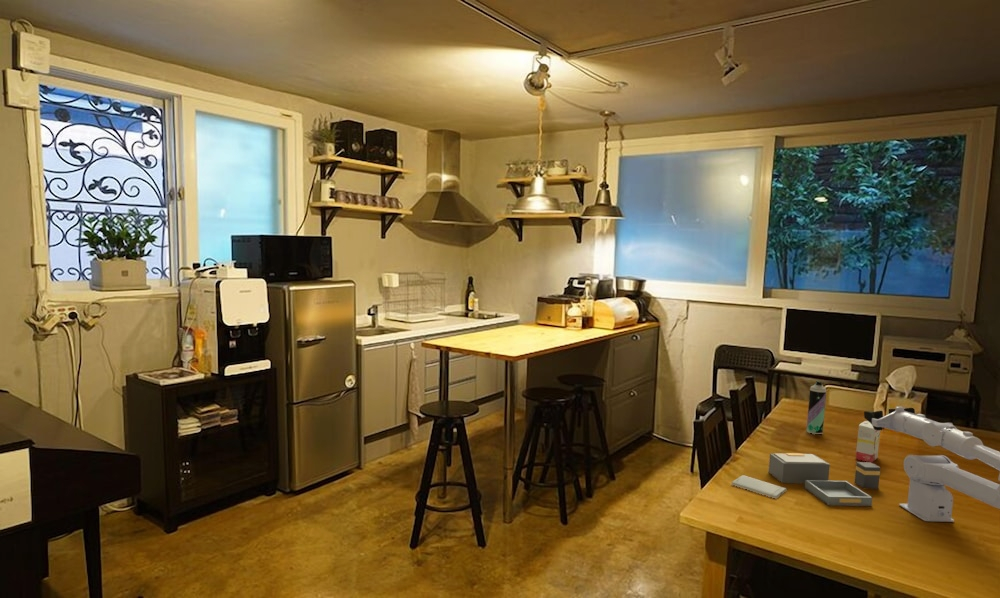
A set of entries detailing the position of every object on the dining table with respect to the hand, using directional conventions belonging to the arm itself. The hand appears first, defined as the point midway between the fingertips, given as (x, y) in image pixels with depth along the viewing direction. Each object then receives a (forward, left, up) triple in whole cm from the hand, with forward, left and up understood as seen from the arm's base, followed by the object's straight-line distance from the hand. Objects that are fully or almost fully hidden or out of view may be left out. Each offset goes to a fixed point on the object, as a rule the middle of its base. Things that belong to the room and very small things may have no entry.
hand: (877, 413), depth 171 cm
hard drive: (-6, +37, -22) cm, 44 cm away
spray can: (+47, -11, -21) cm, 53 cm away
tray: (-11, +17, -21) cm, 29 cm away
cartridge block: (-3, +3, -21) cm, 22 cm away
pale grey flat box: (+2, +21, -21) cm, 30 cm away
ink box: (+20, -13, -22) cm, 32 cm away
